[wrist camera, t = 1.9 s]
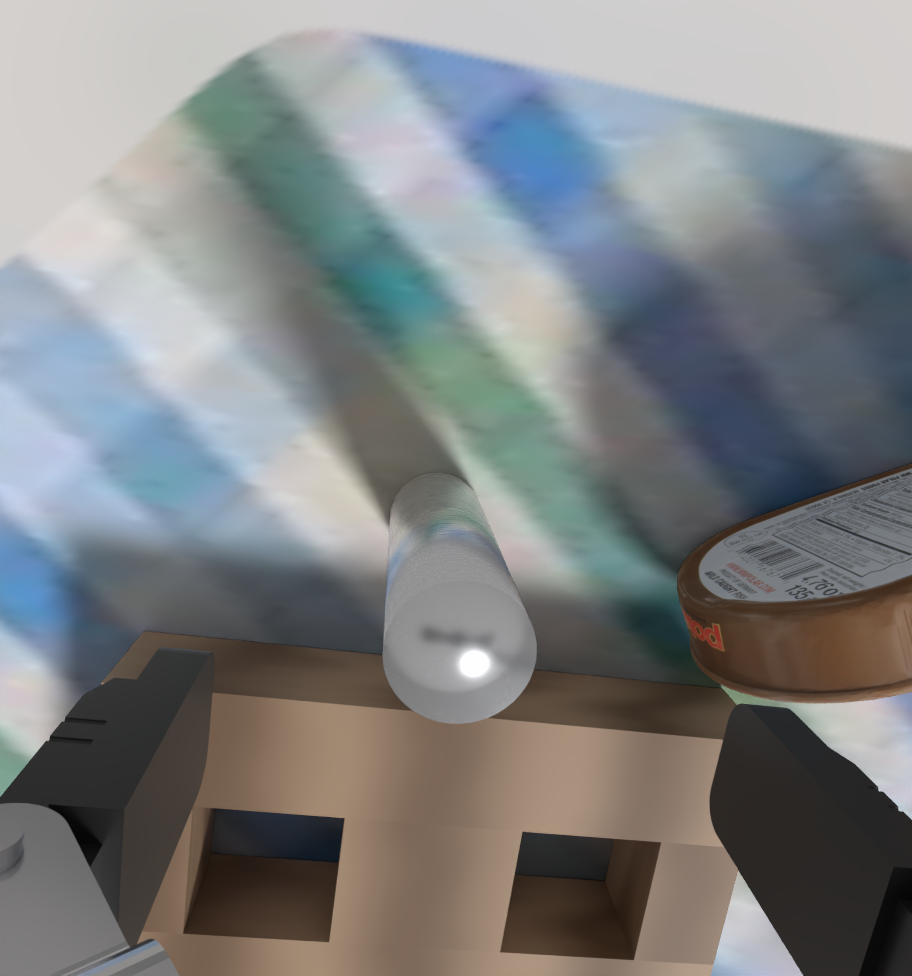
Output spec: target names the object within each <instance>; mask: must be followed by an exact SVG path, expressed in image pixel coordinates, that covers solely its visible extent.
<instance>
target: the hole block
mask: <svg viewBox="0 0 912 976" xmlns="http://www.w3.org/2000/svg"><path fill="white" fill-rule="evenodd" d="M160 647H167V648H178V649H188V650H199V651H209V652H213V653H214V658H215V669H214V682H213V694H212V706H211V719H210V731H209V744H208V753H207V760H206V766H205V771H204V775H203V779H202V783H201V787H200V790H199V793H198V796H197V798H196V801H195V803H194V805H193V808H192V810H191V813H190V815H189V818H188V820H187V823H186V825H185V827H184V830H183V832H182V835H181V837H180V840H179V842H178V845H177V847H176V849H175V852H174V854H173V857H172V859H171V862H170V864H169V867H168V869H167V872H166V874H165V876H164V879H163V881H162V884H161V886H160V889H159V891H158V894H157V896H156V898H155V901H154V903H153V906H152V908H151V911H150V913H149V916H148V918H147V920H146V923H145V925H144V928H143V930H142V933H141V935H140V938H139V940H138V942H137V944H138V943H141V942H143V941H145V940H147V939H154V940H156V941H157V942H158V943H160V944H161V946H162V947H163V948H164V949H165V951H166V952H167V954H168V956H169V957H170V959H171V961H172V963H173V965H174V967H175V968H176V970H177V972H178V974H179V976H710V975H711V972H712V968H713V964H714V960H715V956H716V952H717V949H718V945H719V941H720V937H721V933H722V929H723V926H724V922H725V918H726V914H727V910H728V906H729V903H730V899H731V895H732V891H733V887H734V883H735V880H736V876H737V872H738V869H737V867H736V866H735V864H734V862H733V861H732V859H731V857H730V856H729V854H728V853H727V851H726V849H725V848H724V846H723V845H722V843H721V841H720V840H719V838H718V836H717V835H716V833H715V830H714V828H713V825H712V821H711V816H710V806H709V799H710V791H711V786H712V782H713V778H714V774H715V770H716V766H717V762H718V758H719V754H720V750H721V747H722V743H723V739H724V735H725V731H726V727H727V723H728V719H729V716H730V714H731V712H732V710H733V709H734V707H735V706H737V705H736V704H735V702H734V701H733V700H732V699H731V698H730V697H729V695H728V694H727V693H726V692H725V691H724V690H723V689H720V688H710V687H700V686H690V685H680V684H670V683H660V682H650V681H640V680H630V679H620V678H610V677H600V676H590V675H580V674H570V673H560V672H550V671H540V670H534V671H533V673H532V676H531V678H530V680H529V682H528V684H527V686H526V687H525V689H524V690H523V691H522V693H521V694H520V695H519V696H518V698H517V699H516V700H515V701H514V702H513V703H511V704H510V705H509V706H508V707H506V708H505V709H504V710H502V711H500V712H499V713H497V714H495V715H493V716H491V717H489V718H486V719H483V720H480V721H476V722H471V723H462V724H451V723H443V722H438V721H434V720H431V719H428V718H426V717H423V716H421V715H419V714H418V713H416V712H414V711H413V710H411V709H410V708H409V707H407V706H406V705H405V704H404V703H403V702H402V701H401V700H400V699H399V698H398V696H397V695H396V694H395V693H394V691H393V690H392V688H391V686H390V684H389V682H388V680H387V677H386V674H385V670H384V666H383V655H379V654H369V653H359V652H349V651H339V650H329V649H319V648H309V647H299V646H289V645H279V644H268V643H258V642H248V641H238V640H228V639H218V638H208V637H198V636H188V635H178V634H168V633H158V632H148V631H144V632H143V633H142V634H141V635H140V636H139V638H138V639H137V640H136V641H135V642H134V644H133V645H132V646H131V647H130V649H129V650H128V651H127V652H126V653H125V655H124V656H123V657H122V658H121V659H120V661H119V662H118V663H117V664H116V665H115V667H114V668H113V669H112V670H111V672H110V673H109V674H108V675H107V676H106V678H105V679H104V680H103V681H102V682H101V685H102V684H104V683H106V682H107V681H109V680H111V679H113V678H125V679H137V678H138V677H139V675H140V674H141V672H142V671H143V670H144V668H145V667H146V665H147V664H148V662H149V661H150V660H151V658H152V657H153V655H154V654H155V653H156V651H157V650H158V649H159V648H160ZM215 808H218V809H231V810H244V811H258V812H271V813H284V814H297V815H310V816H323V817H336V818H344V822H343V830H342V838H341V846H340V853H339V861H338V862H325V861H311V860H296V859H282V858H268V857H253V856H239V855H225V854H211V853H212V841H213V829H214V817H215ZM522 832H533V833H546V834H559V835H572V836H585V837H599V838H612V839H614V842H613V847H612V852H611V856H610V861H609V865H608V870H607V875H606V879H605V881H596V880H582V879H568V878H553V877H539V876H525V875H515V869H516V864H517V859H518V853H519V848H520V843H521V837H522Z"/></svg>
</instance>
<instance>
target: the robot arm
mask: <svg viewBox="0 0 912 976" xmlns="http://www.w3.org/2000/svg"><path fill="white" fill-rule="evenodd" d="M214 669H215V658H214V653H213V652H209V651H199V650H188V649H178V648H167V647H160V648H159V649H158V650H157V651H156V653H155V654H154V655H153V657H152V658H151V660H150V661H149V662H148V664H147V665H146V667H145V668H144V670H143V671H142V672H141V674H140V675H139V677H138V678H137V679H125V678H113V679H111V680H109V681H107V682H106V683H104V684H102V685H100V686H99V687H97V688H95V689H93V690H92V691H90V692H88V693H86V694H84V695H83V696H82V698H81V699H80V700H79V701H78V702H77V704H76V705H75V706H74V707H73V709H72V710H71V711H70V712H69V714H68V715H67V716H66V717H65V721H64V722H61V723H60V725H59V726H58V727H57V728H56V729H55V731H54V732H53V733H52V734H51V736H50V739H49V741H46V742H45V743H44V744H43V745H42V747H41V748H40V749H39V750H38V752H37V753H36V754H35V755H34V756H33V758H32V759H31V760H30V761H29V763H28V764H27V765H26V766H25V767H24V769H23V770H22V771H21V772H20V774H19V775H18V776H17V777H16V779H15V780H14V781H13V782H12V783H11V785H10V786H9V787H8V788H7V790H6V791H5V792H4V793H3V794H2V796H1V797H0V976H179V974H178V972H177V970H176V968H175V967H174V965H173V963H172V961H171V959H170V957H169V956H168V954H167V952H166V951H165V949H164V948H163V947H162V946H161V944H160V943H158V942H157V941H156V940H154V939H147V940H145V941H143V942H141V943H138V944H137V942H138V940H139V938H140V935H141V933H142V930H143V928H144V925H145V923H146V920H147V918H148V916H149V913H150V911H151V908H152V906H153V903H154V901H155V898H156V896H157V894H158V891H159V889H160V886H161V884H162V881H163V879H164V876H165V874H166V872H167V869H168V867H169V864H170V862H171V859H172V857H173V854H174V852H175V849H176V847H177V845H178V842H179V840H180V837H181V835H182V832H183V830H184V827H185V825H186V823H187V820H188V818H189V815H190V813H191V810H192V808H193V805H194V803H195V801H196V798H197V796H198V793H199V790H200V787H201V783H202V779H203V775H204V771H205V766H206V760H207V753H208V744H209V731H210V719H211V706H212V694H213V682H214ZM709 806H710V816H711V821H712V825H713V828H714V830H715V833H716V835H717V836H718V838H719V840H720V841H721V843H722V845H723V846H724V848H725V849H726V851H727V853H728V854H729V856H730V857H731V859H732V861H733V862H734V864H735V866H736V867H737V869H738V870H739V872H740V874H741V875H742V877H743V878H744V880H745V882H746V883H747V885H748V887H749V888H750V890H751V891H752V893H753V895H754V896H755V898H756V900H757V901H758V903H759V904H760V906H761V908H762V909H763V911H764V912H765V914H766V916H767V917H768V919H769V921H770V922H771V924H772V925H773V927H774V929H775V930H776V932H777V933H778V935H779V937H780V938H781V940H782V942H783V943H784V945H785V946H786V948H787V950H788V951H789V953H790V955H791V956H792V958H793V959H794V961H795V963H796V964H797V966H798V967H799V969H800V971H801V972H802V974H803V976H912V820H911V819H910V818H909V817H908V816H907V815H906V814H905V813H904V812H900V811H898V806H897V805H896V804H895V803H894V802H893V801H892V800H891V799H890V798H889V797H888V796H887V795H886V794H885V793H884V792H879V791H878V786H876V785H875V784H874V783H873V782H872V781H871V780H870V779H869V778H868V777H867V776H866V775H865V774H864V773H863V772H862V771H861V770H860V769H859V768H858V767H857V766H856V765H855V764H854V763H852V762H851V761H849V760H848V759H846V758H844V757H843V756H841V755H840V754H838V753H837V752H835V751H834V750H832V749H830V748H829V747H828V746H827V745H826V744H825V743H824V742H823V741H822V740H821V739H820V738H819V737H818V736H817V735H816V734H815V733H814V732H813V731H812V730H811V729H810V728H809V727H808V726H807V725H806V724H805V723H804V722H803V721H802V720H801V719H800V718H799V717H798V716H797V715H796V714H795V713H794V712H792V711H791V710H790V709H788V708H781V707H771V706H761V705H750V704H738V705H737V706H735V707H734V709H733V710H732V712H731V714H730V716H729V719H728V723H727V727H726V731H725V735H724V739H723V743H722V747H721V750H720V754H719V758H718V762H717V766H716V770H715V774H714V778H713V782H712V786H711V791H710V799H709Z"/></svg>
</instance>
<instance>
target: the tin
mask: <svg viewBox="0 0 912 976" xmlns="http://www.w3.org/2000/svg"><path fill="white" fill-rule="evenodd" d="M677 590H678V595H679V600H680V605H681V608H682V611H683V615H684V618H685V621H686V624H687V627H688V631H689V634H690V650H691V654H692V657H693V659H694V661H695V663H696V664H697V666H698V667H699V668H700V669H701V670H702V671H703V672H704V673H705V674H706V675H707V676H708V677H710V678H711V679H713V680H714V681H716V682H717V683H719V684H721V685H723V686H725V687H727V688H730V689H732V690H735V691H738V692H740V693H744V694H749V695H752V696H755V697H759V698H764V699H770V700H775V701H782V702H794V703H844V702H854V701H864V700H875V699H879V698H884V697H891V696H896V695H900V694H904V693H909V692H912V464H909V465H906V466H903V467H900V468H897V469H894V470H891V471H888V472H885V473H882V474H879V475H876V476H873V477H870V478H867V479H864V480H861V481H858V482H856V483H853V484H850V485H847V486H844V487H841V488H838V489H835V490H832V491H829V492H826V493H823V494H820V495H818V496H815V497H812V498H809V499H806V500H803V501H800V502H797V503H794V504H792V505H789V506H786V507H783V508H780V509H777V510H775V511H772V512H769V513H766V514H763V515H760V516H758V517H755V518H752V519H749V520H747V521H745V522H742V523H740V524H737V525H735V526H733V527H731V528H728V529H726V530H724V531H722V532H720V533H718V534H717V535H715V536H713V537H712V538H710V539H708V540H707V541H705V542H704V543H702V544H701V545H700V546H698V547H697V548H696V549H695V550H694V551H692V552H691V554H690V555H689V556H688V557H687V558H686V559H685V561H684V562H683V564H682V565H681V567H680V569H679V572H678V576H677Z"/></svg>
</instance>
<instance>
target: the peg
mask: <svg viewBox="0 0 912 976" xmlns="http://www.w3.org/2000/svg"><path fill="white" fill-rule="evenodd" d="M536 656H537V642H536V637H535V632H534V629H533V626H532V624H531V621H530V619H529V617H528V614H527V612H526V610H525V607H524V605H523V603H522V600H521V598H520V596H519V593H518V591H517V589H516V586H515V584H514V582H513V579H512V577H511V574H510V572H509V570H508V567H507V565H506V563H505V560H504V558H503V556H502V553H501V551H500V549H499V546H498V544H497V542H496V539H495V537H494V535H493V532H492V530H491V528H490V525H489V523H488V521H487V518H486V516H485V514H484V511H483V509H482V507H481V504H480V502H479V500H478V498H477V496H476V494H475V493H474V491H473V490H472V489H471V487H470V486H469V485H468V484H466V483H465V482H464V481H463V480H461V479H459V478H457V477H455V476H453V475H450V474H446V473H427V474H423V475H420V476H418V477H416V478H413V479H412V480H410V481H409V482H407V483H406V484H405V485H404V486H403V487H402V488H401V489H400V490H399V492H398V493H397V495H396V496H395V498H394V500H393V503H392V506H391V511H390V527H389V545H388V564H387V582H386V601H385V619H384V638H383V666H384V670H385V674H386V677H387V680H388V682H389V684H390V686H391V688H392V690H393V691H394V693H395V694H396V695H397V696H398V698H399V699H400V700H401V701H402V702H403V703H404V704H405V705H406V706H407V707H409V708H410V709H411V710H413V711H414V712H416V713H418V714H419V715H421V716H423V717H426V718H428V719H431V720H434V721H438V722H443V723H451V724H462V723H471V722H476V721H480V720H483V719H486V718H489V717H491V716H493V715H495V714H497V713H499V712H500V711H502V710H504V709H505V708H506V707H508V706H509V705H510V704H511V703H513V702H514V701H515V700H516V699H517V698H518V696H519V695H520V694H521V693H522V691H523V690H524V689H525V687H526V686H527V684H528V682H529V680H530V678H531V676H532V673H533V671H534V667H535V663H536Z"/></svg>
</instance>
